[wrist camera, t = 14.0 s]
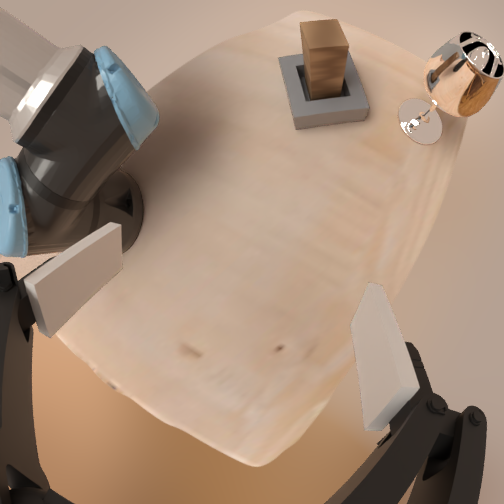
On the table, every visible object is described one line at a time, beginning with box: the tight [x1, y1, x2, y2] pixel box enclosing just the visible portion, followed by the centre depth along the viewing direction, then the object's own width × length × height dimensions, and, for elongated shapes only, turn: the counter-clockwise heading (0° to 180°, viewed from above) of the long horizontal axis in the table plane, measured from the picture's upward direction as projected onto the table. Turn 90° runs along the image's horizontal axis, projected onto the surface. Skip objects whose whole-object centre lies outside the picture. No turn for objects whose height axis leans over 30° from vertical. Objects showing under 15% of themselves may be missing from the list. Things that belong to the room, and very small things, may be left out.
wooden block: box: [300, 19, 349, 101], centre depth 28 cm, size 4×4×14 cm
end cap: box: [278, 50, 369, 130], centre depth 33 cm, size 10×10×4 cm
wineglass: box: [398, 31, 504, 145], centre depth 23 cm, size 8×8×20 cm
